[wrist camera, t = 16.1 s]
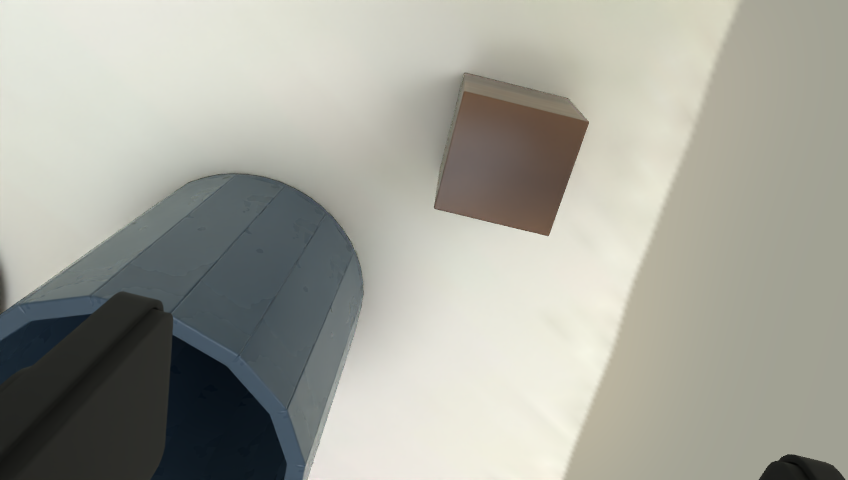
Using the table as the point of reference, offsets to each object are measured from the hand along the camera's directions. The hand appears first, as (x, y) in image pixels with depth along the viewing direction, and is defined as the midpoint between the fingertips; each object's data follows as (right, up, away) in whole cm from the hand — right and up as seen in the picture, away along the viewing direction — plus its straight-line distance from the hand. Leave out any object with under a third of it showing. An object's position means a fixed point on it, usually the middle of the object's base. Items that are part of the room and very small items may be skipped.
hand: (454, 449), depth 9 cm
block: (+3, +8, +16) cm, 18 cm away
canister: (-9, +1, +20) cm, 22 cm away
